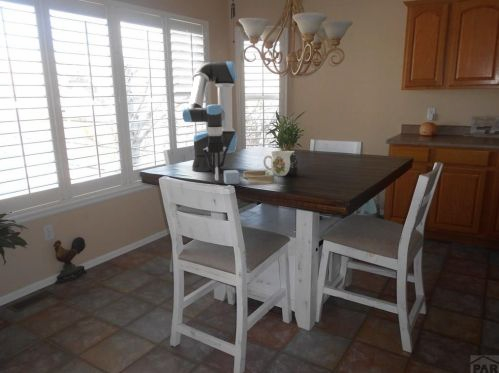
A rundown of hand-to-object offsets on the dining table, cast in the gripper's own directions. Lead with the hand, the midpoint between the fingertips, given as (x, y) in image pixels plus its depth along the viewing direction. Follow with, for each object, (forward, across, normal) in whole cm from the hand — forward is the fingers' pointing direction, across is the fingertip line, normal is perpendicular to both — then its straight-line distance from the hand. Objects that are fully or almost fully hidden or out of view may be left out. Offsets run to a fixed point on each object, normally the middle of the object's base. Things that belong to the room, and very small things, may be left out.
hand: (216, 179), depth 210 cm
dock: (+2, +22, 0) cm, 22 cm away
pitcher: (+2, +38, +12) cm, 40 cm away
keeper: (+2, +8, 0) cm, 8 cm away
